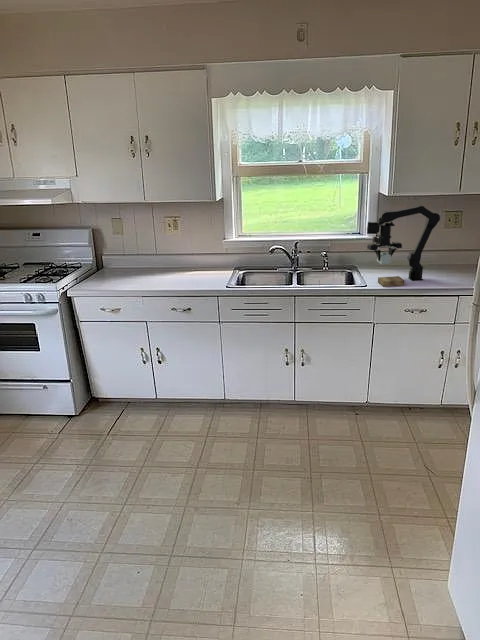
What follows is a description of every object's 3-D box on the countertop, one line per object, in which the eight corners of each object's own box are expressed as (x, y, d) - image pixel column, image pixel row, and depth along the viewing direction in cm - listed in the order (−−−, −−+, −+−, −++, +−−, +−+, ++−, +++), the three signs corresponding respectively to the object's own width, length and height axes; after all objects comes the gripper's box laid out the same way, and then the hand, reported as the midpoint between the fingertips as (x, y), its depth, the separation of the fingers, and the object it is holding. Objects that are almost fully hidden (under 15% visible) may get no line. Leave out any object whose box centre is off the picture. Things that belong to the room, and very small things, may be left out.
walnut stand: (398, 281, 274) (398, 276, 273) (404, 285, 266) (404, 280, 265) (377, 282, 274) (378, 277, 273) (383, 286, 265) (383, 281, 264)
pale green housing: (386, 260, 281) (386, 251, 279) (390, 263, 273) (391, 254, 271) (376, 261, 281) (377, 251, 279) (381, 264, 273) (381, 254, 271)
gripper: (394, 230, 280) (393, 256, 285) (364, 232, 278) (363, 258, 283) (403, 233, 269) (401, 260, 275) (371, 235, 267) (370, 263, 273)
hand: (383, 260), depth 277 cm, fingers closed on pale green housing, 6 cm apart
